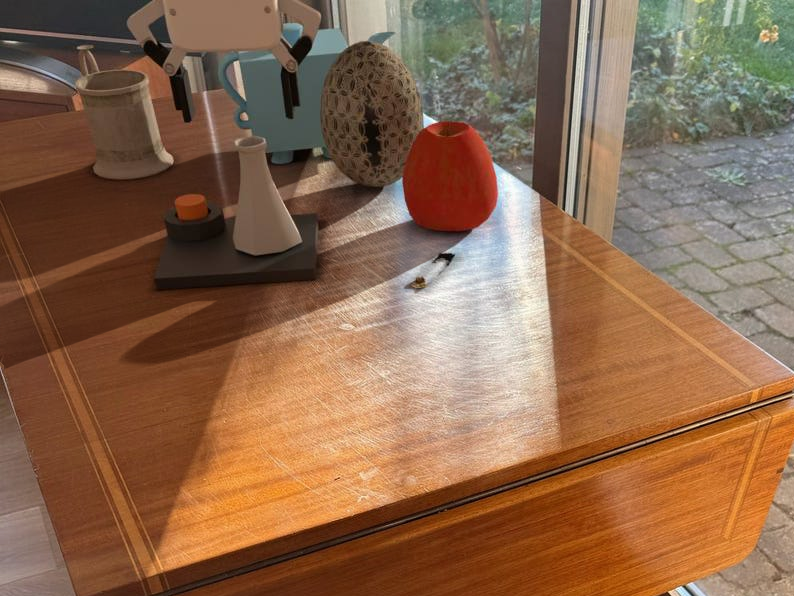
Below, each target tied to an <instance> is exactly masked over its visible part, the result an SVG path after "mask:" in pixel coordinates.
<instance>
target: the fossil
mask: <svg viewBox="0 0 794 596" xmlns="http://www.w3.org/2000/svg"><path fill="white" fill-rule="evenodd" d="M455 256H456V253H451V252H443V253H442V252H439V253H438V255H437V256H436V257H435V258H434V260H433V261H432V263H431V265H433V264H438V262H437V260H441V259H444V261H446V262H445V263H446V264H445V265H446V266H448V267H449V266H450V264H451V262H452V261H453V259H454V257H455ZM442 272H444V270H442V271H440V272H439V273H438V276H440V275H441V274H442ZM438 276H436V278H437V277H438ZM430 283H432V281H430V282H428V283H427V281H426V279H425V277H424V276H422V275H418V276H417V277H415V279H414V282H413V283H412V284H411V286H412V287H413V288H415V289H420V288H421V289H422V288H426V287H427V286H429V284H430Z"/></svg>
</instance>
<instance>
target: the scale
mask: <svg viewBox="0 0 794 596" xmlns="http://www.w3.org/2000/svg"><path fill="white" fill-rule="evenodd" d="M206 204H207V209H208V213H209V215H207V216H206V217H204V218H200V219H197V220H182V219H179V218H178V214H177V210H176V206H175V205H174V206H172V207H171V208H169V209H168V210H167V209H166V211H165V212H164V215H163V217H162V218H163V222H164V227H165V231H166V234H167V237H166V240H165V242H164V245H163V249H162V252H161V255H160V258H159V261H158V263H157V267H156V271H155V274H154V276H153V282H154V285H155V288H156V290H157V291H158V290H176V289H189V288H192V289H193V288H204V287H205V288H206V287H221V286H222V287H223V286H235V285H251V284H252V285H253V284H266V283H282V282H296V281H297V282H298V281H299V282H300V281H312V280H313V281H314V280H316V278H317V266H318V265H317V264H318V247H319V231H320V230H319V229H320V221H319V214H318V213H315V212H313V213H300V214H290V216H291V218H292V220H293V222H294V224H295V226H296V228H297V230H298V232H299V235H300V237H301V240H302V242H301V243H299V244H297V245H295V246H293V247H291V248H289V249H287V250H285V251H283V252H276V253H269V254H262V255H252V254H249V253H246V252H243V251H240V250H238V249H236V248H235V244H234V241H233V232H234V226H235V220H236V217H235V218H225V215H224V210H223V208H222V207H221V206H220V205H219V204H217V203H215V202H209V201H206Z"/></svg>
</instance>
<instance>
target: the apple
mask: <svg viewBox="0 0 794 596" xmlns="http://www.w3.org/2000/svg"><path fill="white" fill-rule="evenodd" d="M495 170H496V169H495V166H494V163H493V159H492V155H491V152H490V151H489V149H488V147H487V145H486V144H485V142H484V140H483V139H482V137H481V135H480V134H479V133H478V132H477V130H476V129H475V127H473V126H471V125H470V124H468V123H466V122H463V121H462V122H461V121H449V120H446V121H445V120H444V121H441V120H440V121H437V122H434V123H431V124H428V125H427V126H426V127H424V129H423V130H421V131H420V132H419V133H418V135H417V137H416V138H415V140H414V142H413V144H412V146H411V149H410V152H409V154H408V157H407V160H406V163H405V166H404V170H403V177H402V178H401V180H402V181H401V183H402V190H403V198H404V202H405V205H406V209H407V211H408V214H409V216H410V217H411V219H412V220H413V221H414V222H415V223H416V224H417V225H418V226H420V227H422V228H426V229H428V230H433V231H440V232H463V231H468V230H472V229H477V228H479V227H480V226H481V225H482V224H484V223H485V222H486V221H488V219H489V218H490V216H491V215H492V214H493V212H494V210H495V209H496V207H497V202H498V198H499V190H498V178H497V174H496V171H495Z"/></svg>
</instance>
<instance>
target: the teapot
mask: <svg viewBox="0 0 794 596" xmlns="http://www.w3.org/2000/svg"><path fill="white" fill-rule="evenodd" d="M303 27H304V26H303V24H299V23H296V22H288V23H283V32H282V33H281V35H282V36H283V37H284V39H285V40H286V41H287V42H288V43H289V44H290V45H291V46H292V47H293V45H294V44H295V43H296V41H297V40H298V39H299V37H300V36H301V34H302V31H303ZM394 35H396V32H395V31H383V32H377V33H374V34H372V35H371V36H370V37H369V38H368V39H367V40H366V41H374V42H377V43H380V44H382V45H384V44H385V42H386V41H388V40H389V39H390V38H391V37H392V36H394ZM348 47H349V45H348V44H347V41H346V40H345V37H344V35H343V33H342V30H341V29H340V27H338V28H337V27H336V28H324V29H318V31H317V34H316V37H315V40H314V43H313V46H312V49H311V50H310V52H309V53H308V54H307V56H306V57H305V58H304V60H303V61H302V62H301V64H300V65H299V66H298V68H297V75H298V84H299V92H300V101H301V106H300V107H295V114H294V119H288V118H286V114H285V106H284V99H283V91H282V84H281V69H282V64H281V63H280V62H279V61H278V60H277V59H276V58H275V56H274V55H273V54H272V53H271V52H270V51H269V50H259V51H233V52H228V53H227V54H226V55H224V57H223V58H222V59H221V61H220V62H219V65H218V68H217V69H218V70H217V76H218V80H219V82H220V85H221V86H222V88H223V89H224V92H226V93H227V95H228V96H229V97H230V98H231V99H232V100H233V101H234V103H236V105H238V106H239V107H238V108H236V109H235V111H234V113H233V120H234V123H235V124H236V126H237V127H238V128H240V130H250V131H251V136H258V137H261V138H265V141H266V144H267V148H266V149H265V154H268V153H269V154H270V153H272V155H271V159H270V162H271V163H273V164H276V165H277V164H278V165H283V164H289V163H291V162H292V161H293V160H294V151H298V150H308V149H317V148H321V150H322V153H323V156H324V157H325V158H327V159H332V158H331V156H330V154H329V152H328V150H327V148H326V145H325V142H324V138H323V133H322V128H321V115H320V110H321V97H322V91H323V86H324V82H325V79H326V76H327V74H328V71H329V69H330V68H331V66H332V64H333V63H334V61H335V60H336V59H337V57H338V56H339V55H340V54H341V53H342V52H343V51H344V50H345V49H346V48H348ZM235 62H238V63H239V69H240V75H241V81H242V86H243V93H244V97H243V96H241V94H240V93H239V92H238V91H237V90H236V89H235V88H234V86H233V85H232V84H231V82H230V80H229V79H228V76H227V69H228V68H229V66H230V65H232V64H233V63H235ZM244 98H245V99H244ZM244 113H245V115H246V116H247V118H248V119H247V120H243V119H241V115H242V114H244Z"/></svg>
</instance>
